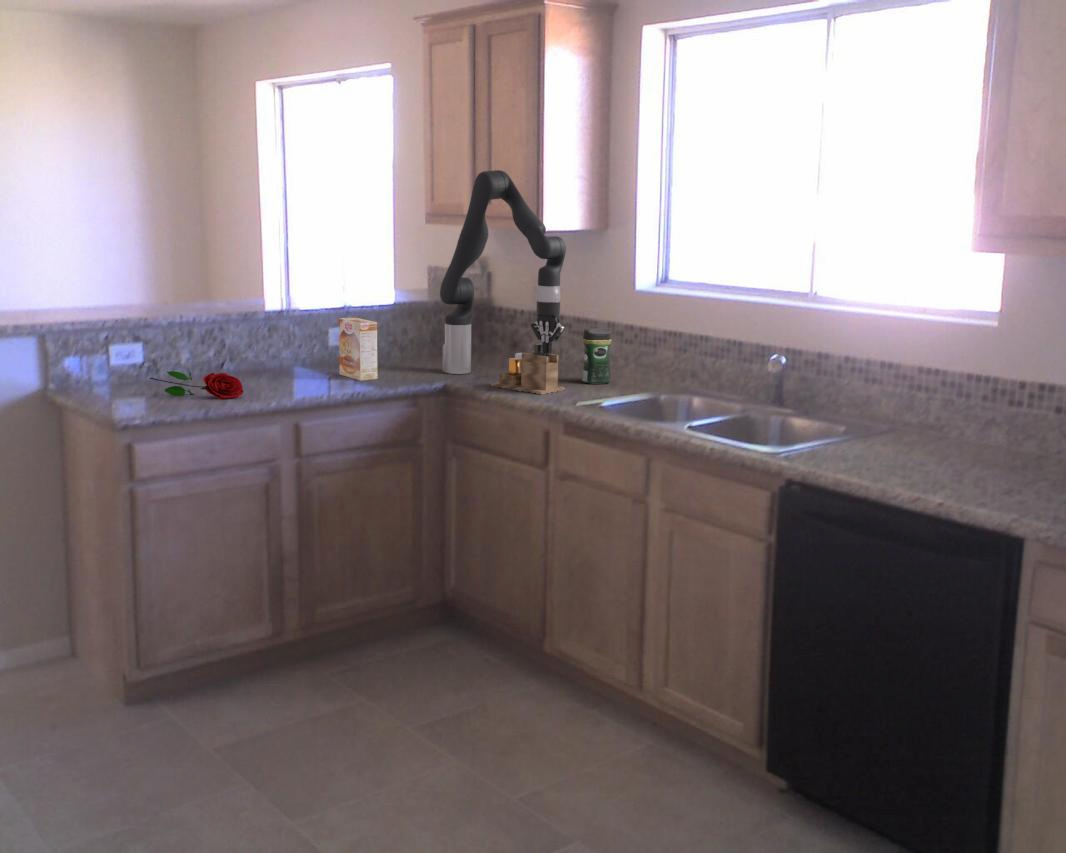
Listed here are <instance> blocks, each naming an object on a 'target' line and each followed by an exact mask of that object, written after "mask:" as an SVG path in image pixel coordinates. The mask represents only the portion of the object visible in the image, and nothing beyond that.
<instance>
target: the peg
mask: <svg viewBox="0 0 1066 853" xmlns="http://www.w3.org/2000/svg"><path fill="white" fill-rule="evenodd" d="M508 372H509V375H514V376H517V375H520V373H521V359H515V357H511V358H508Z"/></svg>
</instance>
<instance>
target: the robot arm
mask: <svg viewBox="0 0 1066 853" xmlns="http://www.w3.org/2000/svg"><path fill="white" fill-rule="evenodd" d="M500 199H502V201H504V202H505V203H506V204H507V205H508V206H509V208H510V210H511V214H512V220H513V222H514V225H515V226H516V228H517V229H518V230H519V231H520V233H521V234H522V235H523V236H524V237H525V238H526V240H527V242H528V244H529V246H530V248H531V250H532V252H533V254H534V255H535V256H537V258H539V259H542V260H546V263H545V265H543V266H542V267H540V268H539V269H538V276H537V289H536V308H535V309H536V310H535V312H536V315H537V317H536V321H535V322H533V323H531V324H530V327H531V329H532V330H533V332H534V335H535V337H536V338H537V340H540V341H541V343H542V351H543V354H552V351H553V342H557V341H558V340H559V339H560V338H561V336H562V334H563V332H564V331H565V330H566V327H565V326H563V325H562V324H561V323H560V318H559V317H560V314H561V272H562V268H563V265H564V262H565V258H566V254H567V247H566V243H565V240H564V239H563V238H562V237H560V236H557V235H555V236H552V235H551V236H547V235H545V234H546V230H547V229H546V226H545V224H544V223H543V222H542V221H541V219H540V218H539V217H538V216H537V215H536V214H535V212H533V210H531V208H530V206H529V205H528V204H527V203H526V201H525V199H524V198H523V196H522V194H521V192H520V191H519V189H518V188H517V186H516V185H515V183H514V181H513V180H512V177H510V176H509V174H508V173H507V172H506V171H505V170H502V169H501V170H499V169H497V170H494V169H493V170H484V171H481V172H479V173H478V174H477V176H476V177H475V180H474V183H473V187H472V192H471V196H470V200H469V205H468V210H467V213H466V216H465V220H464V223H463V226H462V228H461V231H460V233H459V238H458V240H457V243H456V246H455V250H454V253H453V256H452V258H451V261H450V263H449V264H448V265H449V266H448V268H447V270H446V272H445V274H444V277H443V279H442V281H441V284H440V288H439V298H440V301H442V303H443V304H444V305H450V306H452V305H456V308H455V309H454V310H453V311H451V312H449V313H447V314H446V315H445V317H444V344H442V372H444V373H445V374H452V375H466V374H470V373H471V372H472V370H471V368H472V367H471V366H472V364H471V363H472V318H473V316H474V302H475V300H474V299H475V287H474V283H473V281H472V279H471V278H469V277H463V275H464V274H465V273H466V271H467V270H468V269H469V268H470V267H471V266H472V265H473V264H474V263H475V262H476V261H477V260H478V259H479V258H480V257H481V256H482V255H483V252H484V251H485V248H486V244H487V242H488V238H489V227H488V223H487V220H486V212H487V208H488V206H489V203H490V202H491V200H500Z"/></svg>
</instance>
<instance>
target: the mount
mask: <svg viewBox="0 0 1066 853" xmlns="http://www.w3.org/2000/svg"><path fill="white" fill-rule="evenodd" d="M521 353H522V360H521V364H520V375H517V376H514V375H509V371H508V372H503V373H500V374H499V381H497V382H491V383H490V387H493V386H495V387H494V388H499V387H501V388H500V389H505V388H506V390H511V389H512V391H516V390H518V392H522V391H524V392H523V393H528V392H530V393H529V394H534V393H536V395H539V394H542V395H547V394H546V393H548V394H552V393H551V392H553V393H558V392H563V390H564V391H565V387H566V386H565V387H564V386H559V384H558V383H559V356H560V355H559V354H552V353H551V354H545V356H540V355H533V354H534V351H531V353H527V352H521ZM526 353H527V354H526ZM547 356H548V357H550V362H548V357H547ZM557 391H558V392H557Z"/></svg>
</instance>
